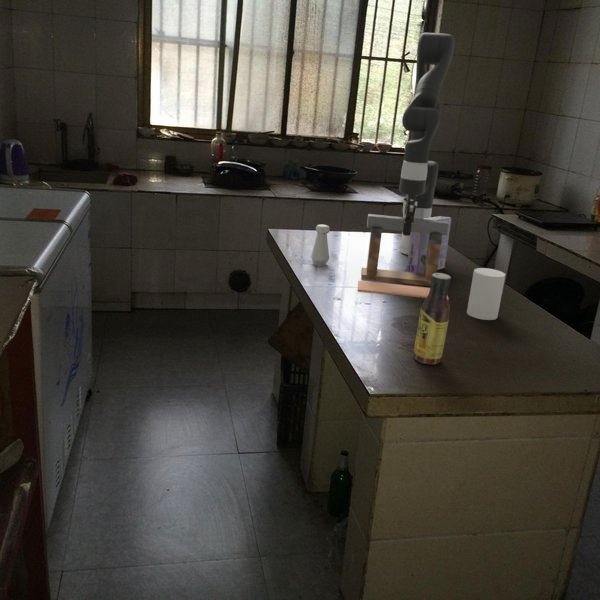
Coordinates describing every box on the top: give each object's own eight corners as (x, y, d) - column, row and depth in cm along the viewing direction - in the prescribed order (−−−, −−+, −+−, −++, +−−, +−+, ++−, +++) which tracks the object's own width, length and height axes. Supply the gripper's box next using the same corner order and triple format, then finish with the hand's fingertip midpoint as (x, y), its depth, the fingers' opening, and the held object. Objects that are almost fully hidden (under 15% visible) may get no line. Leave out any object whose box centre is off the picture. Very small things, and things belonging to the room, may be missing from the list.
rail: (445, 232, 198) (447, 221, 197) (446, 235, 195) (448, 223, 194) (366, 225, 200) (368, 213, 198) (367, 227, 197) (368, 216, 195)
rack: (436, 279, 205) (444, 230, 200) (439, 287, 198) (447, 236, 193) (361, 272, 207) (366, 222, 202) (361, 279, 199) (367, 228, 194)
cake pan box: (434, 264, 223) (441, 213, 218) (447, 268, 220) (455, 216, 214) (403, 273, 209) (411, 219, 204) (417, 277, 206) (425, 222, 200)
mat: (444, 290, 195) (444, 289, 194) (448, 300, 186) (448, 298, 186) (358, 282, 196) (358, 280, 196) (358, 291, 188) (358, 289, 187)
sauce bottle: (409, 354, 146) (422, 269, 140) (436, 355, 147) (450, 271, 141) (417, 366, 140) (430, 278, 134) (445, 367, 141) (459, 280, 134)
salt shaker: (329, 262, 214) (332, 224, 210) (328, 267, 209) (331, 228, 205) (311, 261, 215) (314, 222, 210) (309, 265, 209) (313, 226, 205)
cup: (498, 312, 179) (506, 271, 175) (496, 322, 172) (504, 278, 168) (468, 307, 181) (475, 266, 178) (465, 316, 174) (472, 273, 170)
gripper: (428, 181, 185) (420, 240, 191) (424, 174, 199) (416, 229, 204) (402, 179, 186) (394, 238, 191) (399, 172, 199) (392, 227, 205)
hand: (405, 233), depth 198 cm, fingers closed on rail, 3 cm apart
